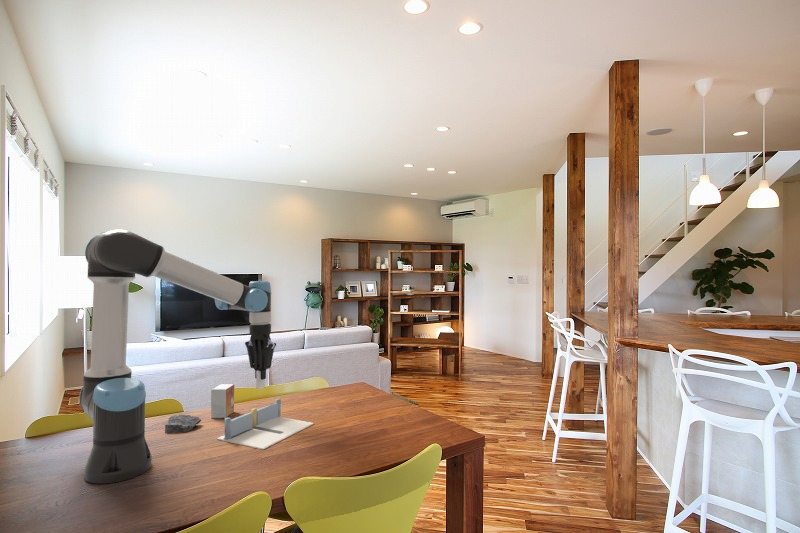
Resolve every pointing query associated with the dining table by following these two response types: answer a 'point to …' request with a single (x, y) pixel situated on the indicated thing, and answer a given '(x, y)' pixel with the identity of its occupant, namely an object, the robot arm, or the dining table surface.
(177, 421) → the rock
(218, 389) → the small box
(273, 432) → the card
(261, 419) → the swing fence panel
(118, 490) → the dining table surface
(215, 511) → the dining table surface
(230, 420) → the fixed fence panel
